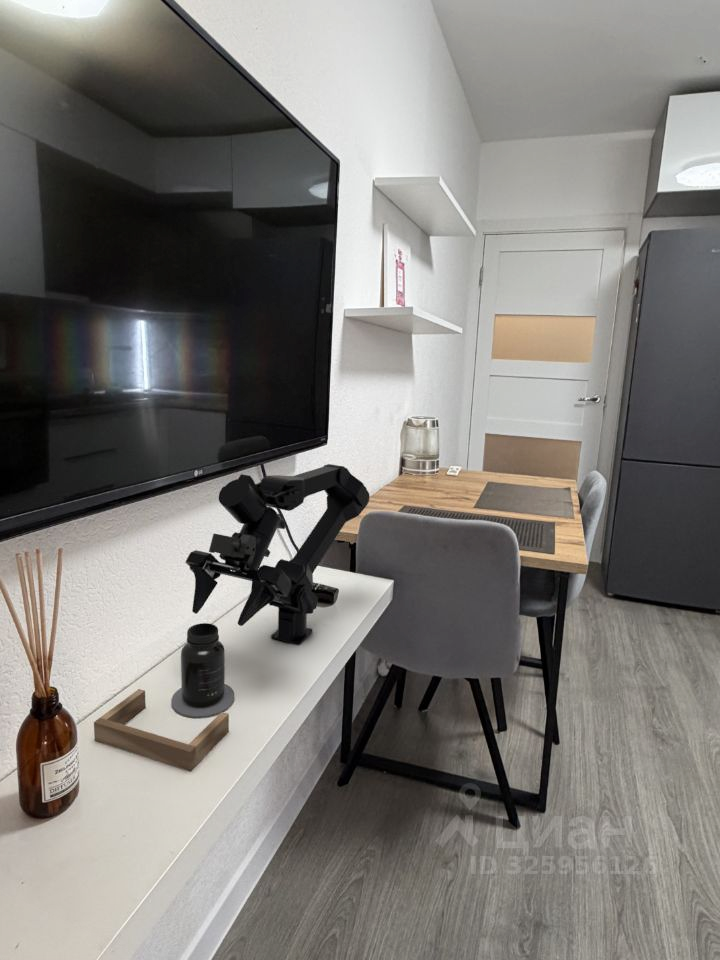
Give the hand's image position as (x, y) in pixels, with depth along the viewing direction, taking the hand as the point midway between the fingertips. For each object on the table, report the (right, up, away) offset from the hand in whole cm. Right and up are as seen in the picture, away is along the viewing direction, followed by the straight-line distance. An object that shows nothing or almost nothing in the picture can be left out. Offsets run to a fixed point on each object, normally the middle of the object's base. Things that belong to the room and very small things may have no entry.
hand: (216, 618), depth 99 cm
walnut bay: (-5, -15, -11) cm, 19 cm away
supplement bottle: (-2, -13, -1) cm, 13 cm away
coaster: (-2, -13, -1) cm, 13 cm away
